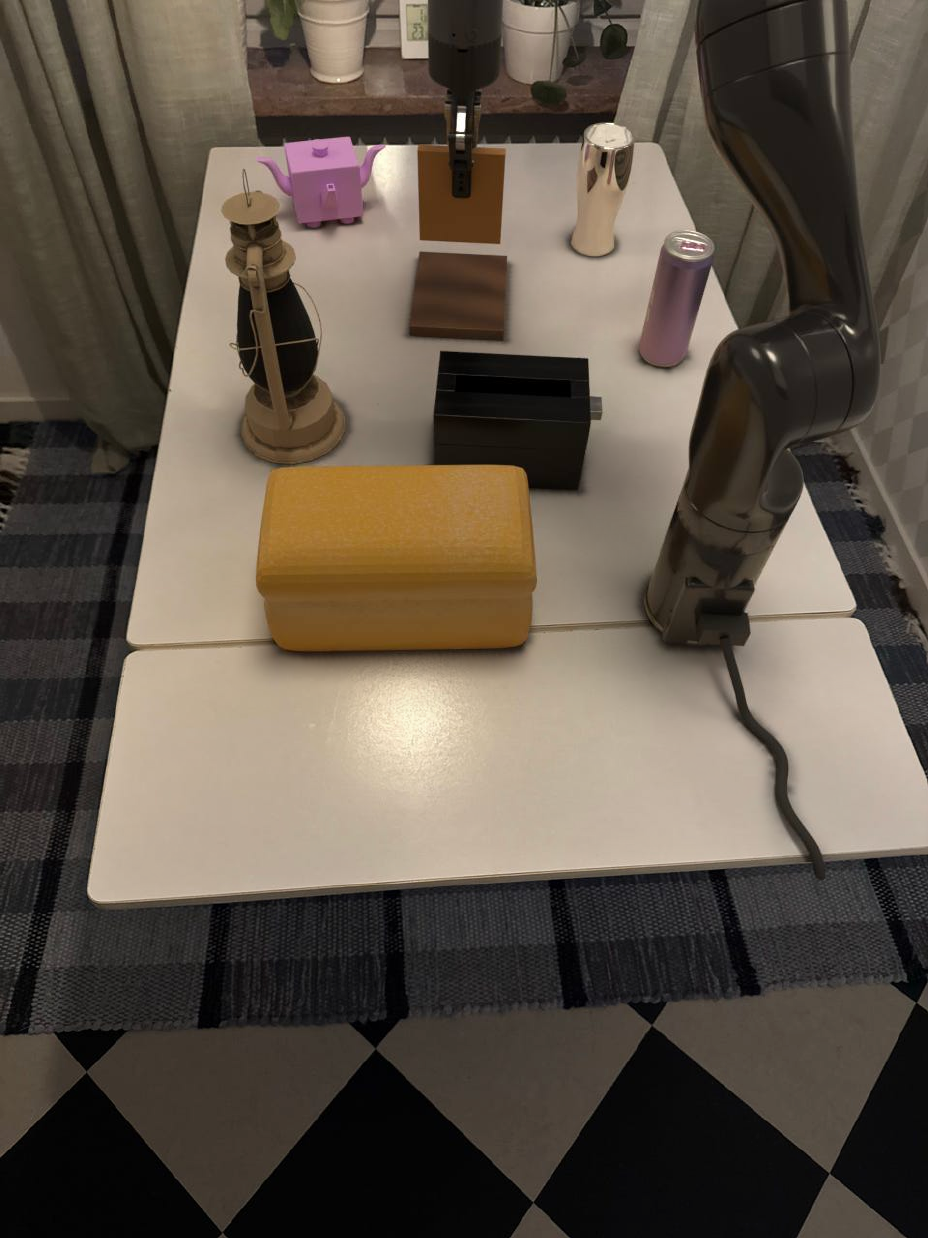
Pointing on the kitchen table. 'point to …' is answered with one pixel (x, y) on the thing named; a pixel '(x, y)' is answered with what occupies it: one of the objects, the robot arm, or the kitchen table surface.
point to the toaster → (515, 414)
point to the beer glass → (601, 185)
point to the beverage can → (676, 297)
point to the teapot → (324, 179)
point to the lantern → (276, 341)
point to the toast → (460, 215)
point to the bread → (397, 557)
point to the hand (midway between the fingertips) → (461, 191)
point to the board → (459, 296)
